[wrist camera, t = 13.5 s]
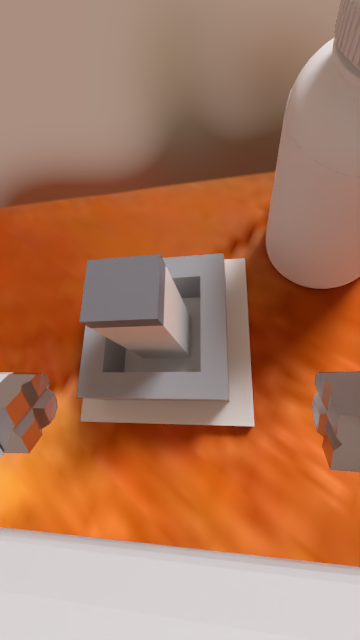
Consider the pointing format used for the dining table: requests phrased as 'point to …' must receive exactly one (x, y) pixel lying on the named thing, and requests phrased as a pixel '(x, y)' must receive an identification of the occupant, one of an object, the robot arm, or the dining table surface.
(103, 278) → the plug
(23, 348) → the dining table surface
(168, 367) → the socket
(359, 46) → the pill bottle
